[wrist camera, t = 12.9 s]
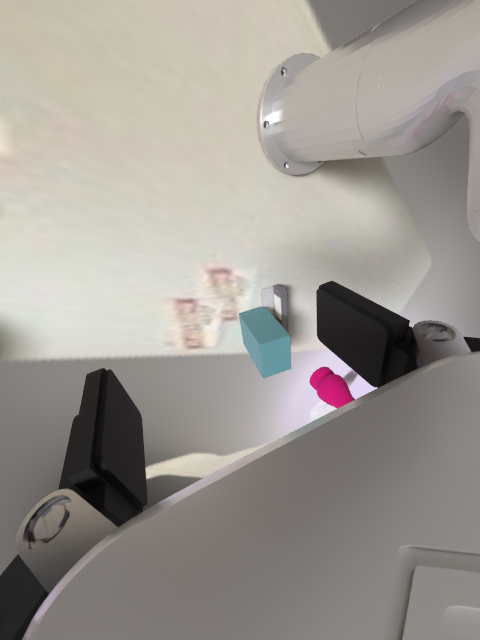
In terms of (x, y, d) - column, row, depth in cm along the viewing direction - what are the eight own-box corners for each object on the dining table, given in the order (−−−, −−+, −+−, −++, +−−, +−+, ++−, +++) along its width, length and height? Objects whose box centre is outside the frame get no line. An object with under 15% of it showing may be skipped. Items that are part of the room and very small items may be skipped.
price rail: (278, 284, 45) (286, 290, 43) (281, 344, 53) (289, 352, 51) (260, 289, 44) (268, 296, 42) (266, 349, 52) (273, 358, 50)
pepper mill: (304, 377, 61) (367, 448, 45) (327, 359, 62) (399, 425, 46) (312, 391, 66) (373, 462, 50) (334, 375, 66) (401, 440, 50)
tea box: (243, 343, 49) (263, 378, 41) (239, 313, 45) (259, 345, 37) (268, 336, 50) (291, 368, 42) (265, 306, 46) (291, 335, 38)
